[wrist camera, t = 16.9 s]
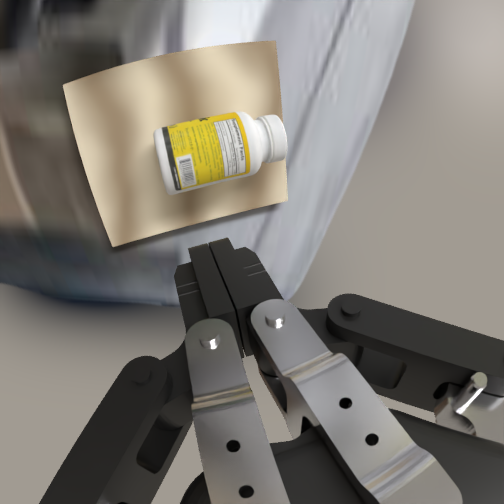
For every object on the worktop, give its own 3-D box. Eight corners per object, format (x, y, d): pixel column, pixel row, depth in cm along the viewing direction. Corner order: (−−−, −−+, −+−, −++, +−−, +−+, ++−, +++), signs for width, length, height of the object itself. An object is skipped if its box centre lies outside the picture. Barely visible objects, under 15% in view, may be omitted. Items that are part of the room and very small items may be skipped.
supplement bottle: (156, 146, 25) (262, 124, 27) (168, 203, 25) (279, 178, 27) (149, 116, 20) (277, 94, 22) (162, 184, 20) (298, 155, 22)
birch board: (113, 239, 29) (112, 247, 28) (67, 84, 19) (62, 85, 18) (282, 194, 32) (287, 200, 31) (269, 41, 23) (275, 40, 22)
